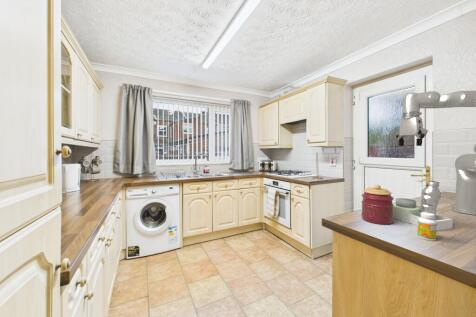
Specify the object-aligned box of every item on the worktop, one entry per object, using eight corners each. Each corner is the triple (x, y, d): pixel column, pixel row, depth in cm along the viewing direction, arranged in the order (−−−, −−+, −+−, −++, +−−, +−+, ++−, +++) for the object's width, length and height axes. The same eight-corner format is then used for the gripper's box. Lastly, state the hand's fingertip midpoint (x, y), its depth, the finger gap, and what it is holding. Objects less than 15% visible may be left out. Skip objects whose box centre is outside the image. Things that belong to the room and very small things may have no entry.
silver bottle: (438, 227, 93) (448, 184, 89) (421, 225, 94) (430, 182, 90) (428, 221, 99) (437, 180, 95) (412, 219, 100) (420, 179, 97)
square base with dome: (402, 213, 112) (402, 196, 112) (453, 228, 91) (454, 208, 91) (384, 215, 109) (385, 198, 109) (433, 231, 88) (434, 210, 88)
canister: (375, 226, 94) (376, 187, 93) (355, 216, 107) (355, 182, 106) (400, 224, 96) (401, 186, 95) (377, 215, 109) (378, 181, 108)
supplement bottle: (413, 235, 84) (414, 211, 84) (426, 234, 85) (427, 211, 84) (427, 241, 79) (428, 216, 78) (440, 240, 79) (441, 215, 79)
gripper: (433, 113, 111) (431, 145, 112) (400, 118, 128) (399, 146, 129) (422, 113, 109) (421, 145, 110) (391, 117, 126) (390, 146, 127)
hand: (409, 145), depth 119 cm, fingers open, 9 cm apart
